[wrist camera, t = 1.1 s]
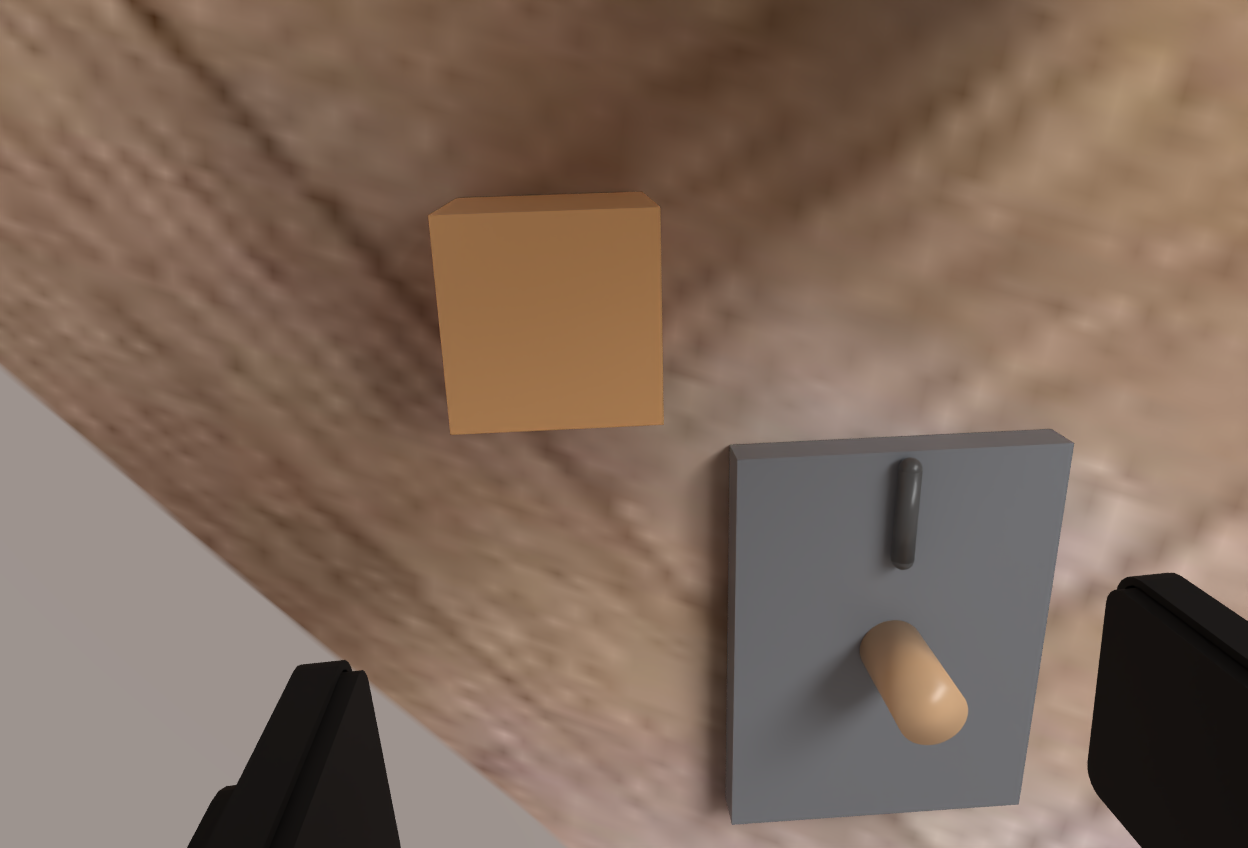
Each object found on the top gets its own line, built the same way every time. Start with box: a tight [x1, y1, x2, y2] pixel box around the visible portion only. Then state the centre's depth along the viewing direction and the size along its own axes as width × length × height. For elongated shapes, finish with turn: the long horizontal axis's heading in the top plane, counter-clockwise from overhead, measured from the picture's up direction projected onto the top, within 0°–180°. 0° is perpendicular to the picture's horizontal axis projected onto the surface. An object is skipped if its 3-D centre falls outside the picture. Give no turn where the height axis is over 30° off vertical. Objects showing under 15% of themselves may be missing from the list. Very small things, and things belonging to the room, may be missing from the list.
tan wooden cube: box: [428, 192, 664, 435], centre depth 26 cm, size 6×6×6 cm
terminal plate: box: [726, 429, 1074, 825], centre depth 31 cm, size 16×12×6 cm
